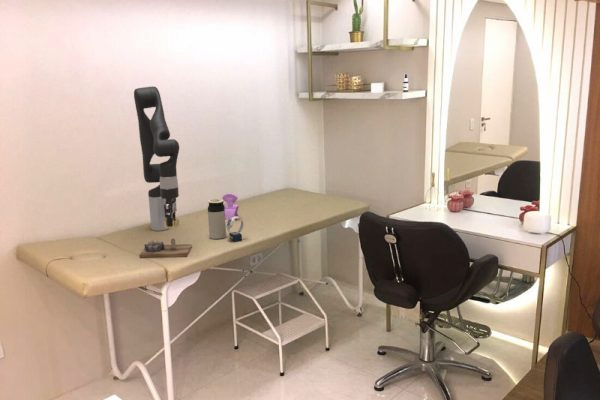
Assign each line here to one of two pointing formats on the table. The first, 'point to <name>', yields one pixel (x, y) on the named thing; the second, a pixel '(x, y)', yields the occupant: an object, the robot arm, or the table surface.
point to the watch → (234, 235)
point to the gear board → (165, 250)
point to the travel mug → (216, 219)
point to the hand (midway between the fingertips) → (171, 224)
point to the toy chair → (230, 205)
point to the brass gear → (175, 223)
